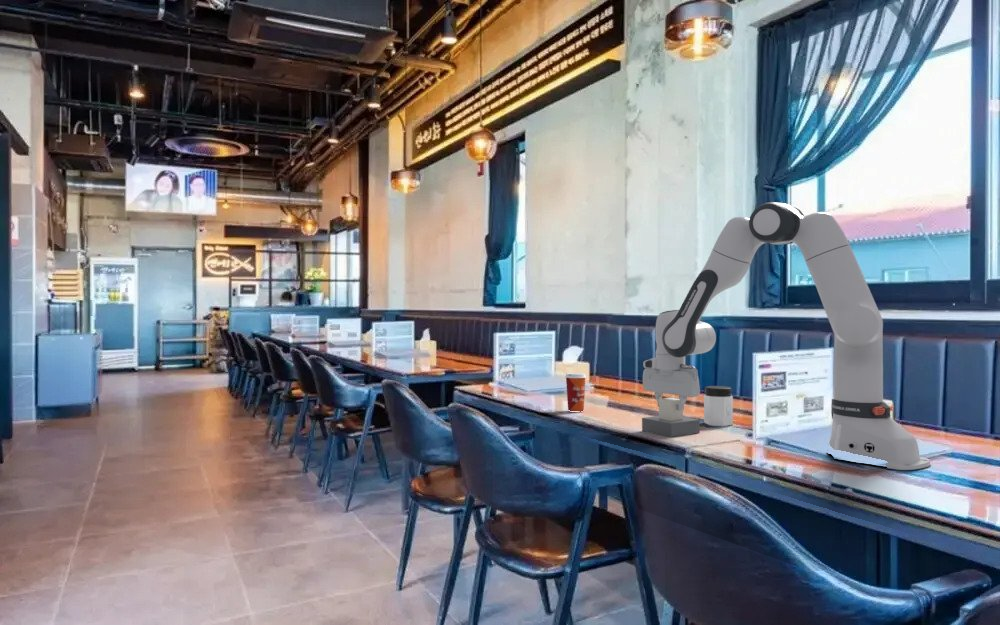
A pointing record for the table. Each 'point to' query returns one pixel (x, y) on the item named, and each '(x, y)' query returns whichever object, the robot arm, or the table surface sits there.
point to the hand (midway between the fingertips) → (670, 408)
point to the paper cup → (575, 391)
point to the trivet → (671, 426)
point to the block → (669, 409)
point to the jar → (718, 406)
